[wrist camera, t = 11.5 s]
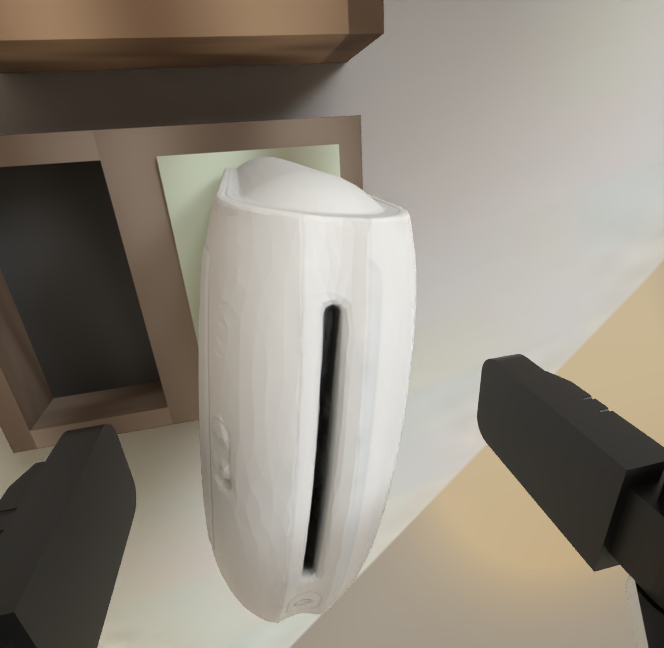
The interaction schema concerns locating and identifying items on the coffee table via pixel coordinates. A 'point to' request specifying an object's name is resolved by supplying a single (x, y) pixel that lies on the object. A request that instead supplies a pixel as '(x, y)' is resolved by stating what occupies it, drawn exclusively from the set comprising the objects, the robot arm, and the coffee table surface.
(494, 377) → the robot arm
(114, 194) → the two-compartment wooden organizer
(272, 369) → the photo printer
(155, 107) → the coffee table surface
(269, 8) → the wooden cubby shelf
